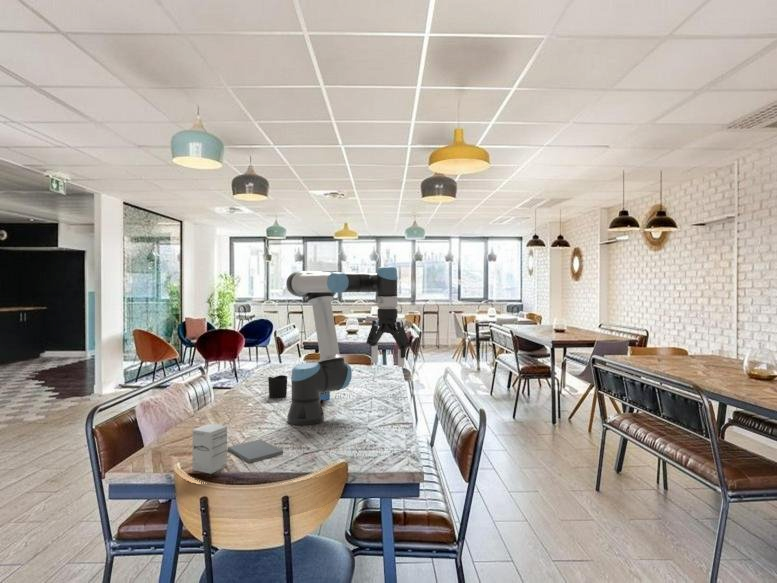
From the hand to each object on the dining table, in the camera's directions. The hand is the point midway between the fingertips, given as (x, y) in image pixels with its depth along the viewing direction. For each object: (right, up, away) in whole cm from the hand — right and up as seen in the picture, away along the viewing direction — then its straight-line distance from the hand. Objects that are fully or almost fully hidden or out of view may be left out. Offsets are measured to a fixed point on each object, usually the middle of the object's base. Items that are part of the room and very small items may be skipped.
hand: (387, 364), depth 174 cm
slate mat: (-45, -27, -17) cm, 55 cm away
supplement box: (-55, -27, -32) cm, 69 cm away
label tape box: (-33, -26, +55) cm, 70 cm away
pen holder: (-56, -26, +62) cm, 88 cm away
